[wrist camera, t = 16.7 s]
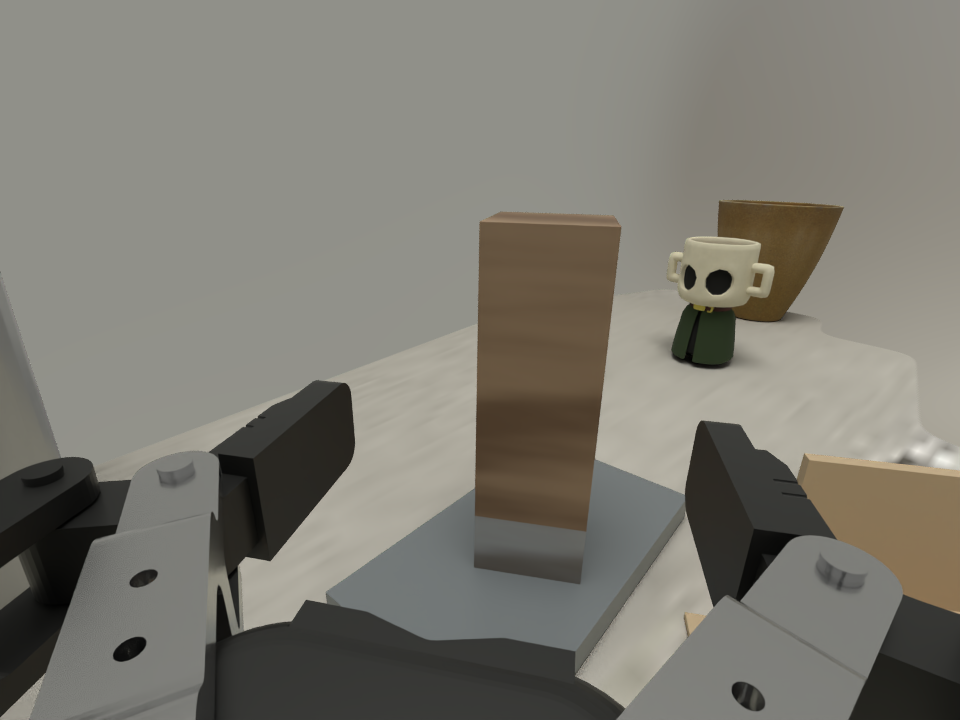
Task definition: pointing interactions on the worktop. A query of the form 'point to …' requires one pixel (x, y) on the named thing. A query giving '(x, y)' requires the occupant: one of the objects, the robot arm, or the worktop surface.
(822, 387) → the worktop surface
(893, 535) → the carton
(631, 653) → the worktop surface
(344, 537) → the worktop surface
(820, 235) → the plant pot
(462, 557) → the blue-grey flat slab
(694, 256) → the character mug
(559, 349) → the walnut block
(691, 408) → the worktop surface
